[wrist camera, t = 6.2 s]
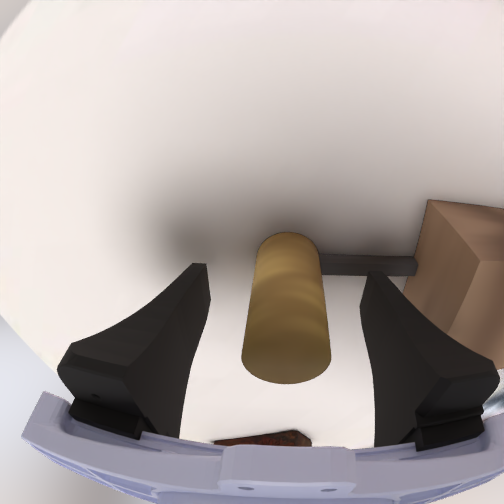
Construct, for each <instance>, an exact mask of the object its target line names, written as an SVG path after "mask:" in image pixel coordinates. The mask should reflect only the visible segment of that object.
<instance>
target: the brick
mask: <svg viewBox="0 0 504 504" xmlns="http://www.w3.org/2000/svg"><path fill="white" fill-rule="evenodd" d="M214 445H221V446H234V445H267V446H291V447H312V442H311V440H309V439H308V438H306V437H305V436H304V435H302V434H301V433H299V432H298V431H296V430H292V431H286V432H280V433H275V434H265V435H259V436H253V437H244V438H237V439H229V440H219V441H215V442H214Z"/></svg>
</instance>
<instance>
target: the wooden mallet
mask: <svg viewBox="0 0 504 504" xmlns="http://www.w3.org/2000/svg"><path fill="white" fill-rule="evenodd" d="M369 271H382V272H383V273H384V274H385V275H386V276H408V279H407V282H406V285H405V288H404V291H403V295H404V296H405V297H406V298H407V299H408V300H409V301H410V302H411V303H412V304H413V305H414V306H415V307H416V308H417V309H418V310H419V311H420V312H421V313H422V314H423V315H424V316H425V317H426V318H427V319H429V320H430V321H431V322H432V323H433V324H434V325H436V326H437V327H438V328H439V329H441V330H442V331H443V332H444V333H446V334H447V335H449V336H450V337H451V338H453V339H454V340H456V341H457V342H459V343H460V344H462V345H464V346H465V347H467V348H469V349H471V350H472V351H474V352H476V353H478V354H480V355H482V356H484V357H486V358H488V359H490V360H492V361H493V362H494V365H495V367H496V369H497V370H498V369H502V368H504V209H501V208H494V207H487V206H480V205H472V204H464V203H455V202H447V201H437V200H428V202H427V207H426V211H425V216H424V220H423V224H422V229H421V233H420V236H419V240H418V244H417V248H416V252H415V255H414V257H402V256H365V255H328V254H318V250H317V248H316V246H315V245H314V244H313V242H312V241H311V240H309V239H308V238H307V237H305V236H303V235H301V234H298V233H292V232H284V233H278V234H275V235H273V236H271V237H269V238H268V239H266V240H265V241H264V242H263V243H262V244H261V246H260V248H259V250H258V253H257V258H256V265H255V271H254V278H253V284H252V291H251V297H250V304H249V310H248V317H247V323H246V329H245V336H244V342H243V349H242V355H241V359H242V363H243V365H244V367H245V368H246V369H247V370H248V371H249V372H250V373H251V374H252V375H254V376H255V377H257V378H259V379H262V380H264V381H267V382H271V383H277V384H296V383H301V382H305V381H308V380H311V379H313V378H315V377H317V376H319V375H320V374H322V373H323V372H324V371H325V370H326V369H327V368H328V366H329V364H330V362H331V349H330V339H329V330H328V321H327V313H326V304H325V297H324V289H323V282H322V275H349V276H368V272H369Z"/></svg>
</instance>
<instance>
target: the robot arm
mask: <svg viewBox="0 0 504 504" xmlns="http://www.w3.org/2000/svg"><path fill="white" fill-rule="evenodd" d="M210 301H211V298H210V290H209V282H208V274H207V266H206V264H202V263H192V264H191V265H190V266H189V267H188V268H187V269H186V270H185V271H184V272H183V273H182V274H181V275H180V276H179V277H178V278H177V279H176V280H174V281H173V282H172V283H171V284H170V285H169V286H168V287H167V288H166V289H165V290H164V291H163V292H161V293H160V294H159V295H158V296H157V297H155V298H154V299H153V300H152V301H151V302H149V303H148V304H147V305H145V306H144V307H143V308H141V309H140V310H138V311H137V312H136V313H134V314H133V315H131V316H129V317H128V318H126V319H124V320H123V321H121V322H119V323H117V324H116V325H114V326H112V327H110V328H108V329H106V330H104V331H102V332H99V333H97V334H95V335H93V336H90V337H87V338H85V339H82V340H79V341H76V342H73V343H71V345H70V346H69V348H68V350H67V351H66V353H65V355H64V356H63V358H62V360H61V361H60V363H59V365H58V367H57V372H58V375H59V377H60V379H61V380H62V382H63V383H64V384H65V386H66V387H67V388H68V389H69V391H70V392H71V393H72V395H73V396H74V397H75V399H74V401H73V403H72V405H71V404H70V403H69V402H68V401H66V400H65V399H63V398H61V397H58V396H56V395H53V394H51V393H48V392H46V391H44V392H43V393H42V395H41V397H40V399H39V401H38V403H37V405H36V406H35V409H34V411H33V413H32V414H31V416H30V419H29V421H28V423H27V425H26V427H25V429H24V431H23V433H22V435H21V437H22V439H23V440H25V441H26V442H27V443H28V444H30V445H31V446H32V447H33V448H35V449H36V450H37V451H39V452H40V453H42V454H43V455H44V456H46V457H47V458H48V459H50V460H51V461H53V462H54V463H56V464H59V465H60V466H63V467H65V468H67V469H69V470H71V471H73V472H75V473H77V474H80V475H82V476H84V477H86V478H88V479H91V480H93V481H95V482H98V483H100V484H102V485H105V486H107V487H110V488H112V489H115V490H118V491H120V492H123V493H126V494H128V495H131V496H134V497H137V498H140V499H143V500H147V501H149V502H153V503H156V504H428V503H431V502H434V501H437V500H440V499H444V498H446V497H449V496H452V495H455V494H458V493H461V492H464V491H466V490H469V489H471V488H474V487H477V486H479V485H482V484H484V483H487V482H489V481H490V480H492V479H494V478H496V477H497V476H499V475H500V474H502V473H504V413H502V414H499V415H495V416H492V417H490V418H488V419H486V420H485V421H484V422H482V419H481V415H482V414H483V413H484V410H483V407H482V404H483V403H484V402H485V401H486V400H487V399H488V398H489V397H490V396H491V395H492V393H493V392H494V391H495V390H496V388H497V387H498V384H499V382H500V377H499V374H498V372H497V369H496V367H495V365H494V362H493V361H492V360H490V359H488V358H486V357H484V356H482V355H480V354H478V353H476V352H474V351H472V350H471V349H469V348H467V347H465V346H464V345H462V344H460V343H459V342H457V341H456V340H454V339H453V338H451V337H450V336H449V335H447V334H446V333H444V332H443V331H442V330H441V329H439V328H438V327H437V326H436V325H434V324H433V323H432V322H431V321H430V320H429V319H427V318H426V317H425V316H424V315H423V314H422V313H421V312H420V311H419V310H418V309H417V308H416V307H415V306H414V305H413V304H412V303H411V302H410V301H409V300H408V299H407V298H406V297H405V296H404V295H403V294H402V292H401V291H400V290H399V289H398V288H397V287H396V286H395V285H394V284H393V283H392V281H391V280H390V279H389V278H388V277H387V276H386V275H385V274H384V273H383V272H382V271H369V272H368V276H367V280H366V284H365V288H364V292H363V296H362V299H361V303H360V315H361V324H362V329H363V333H364V338H365V342H366V346H367V350H368V355H369V359H370V364H371V369H372V375H373V385H374V401H375V439H374V448H364V449H351V450H350V449H348V448H345V447H332V446H325V447H291V446H267V445H234V446H221V445H214V444H207V443H200V442H194V441H188V440H183V439H179V434H180V426H181V418H182V412H183V405H184V399H185V394H186V389H187V383H188V379H189V374H190V369H191V365H192V362H193V358H194V355H195V353H196V350H197V347H198V344H199V341H200V338H201V335H202V332H203V329H204V326H205V323H206V320H207V316H208V312H209V306H210Z"/></svg>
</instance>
